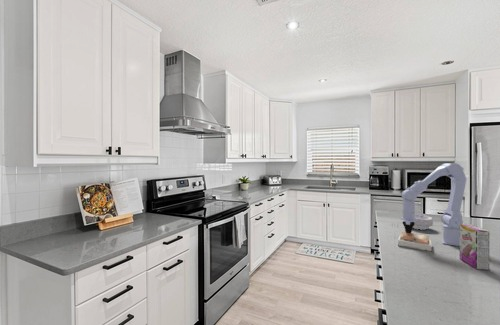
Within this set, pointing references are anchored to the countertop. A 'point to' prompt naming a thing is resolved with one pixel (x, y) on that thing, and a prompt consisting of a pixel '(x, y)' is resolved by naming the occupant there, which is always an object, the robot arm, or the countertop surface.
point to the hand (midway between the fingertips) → (408, 234)
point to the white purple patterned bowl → (422, 222)
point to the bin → (414, 244)
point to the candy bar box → (474, 246)
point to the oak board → (419, 237)
